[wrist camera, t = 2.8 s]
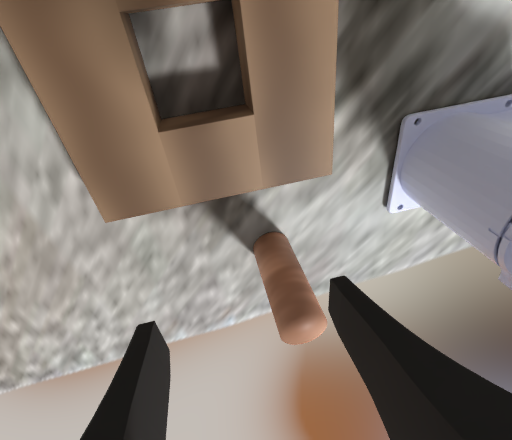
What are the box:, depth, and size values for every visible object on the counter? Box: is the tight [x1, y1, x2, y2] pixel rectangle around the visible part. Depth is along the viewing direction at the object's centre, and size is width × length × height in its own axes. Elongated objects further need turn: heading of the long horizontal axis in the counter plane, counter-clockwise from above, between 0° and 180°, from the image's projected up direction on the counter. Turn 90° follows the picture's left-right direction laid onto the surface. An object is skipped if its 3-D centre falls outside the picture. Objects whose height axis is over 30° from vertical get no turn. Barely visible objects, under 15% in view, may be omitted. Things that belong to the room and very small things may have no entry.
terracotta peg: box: [253, 232, 327, 345], centre depth 21 cm, size 3×3×8 cm
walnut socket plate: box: [0, 0, 339, 223], centre depth 14 cm, size 14×14×2 cm
